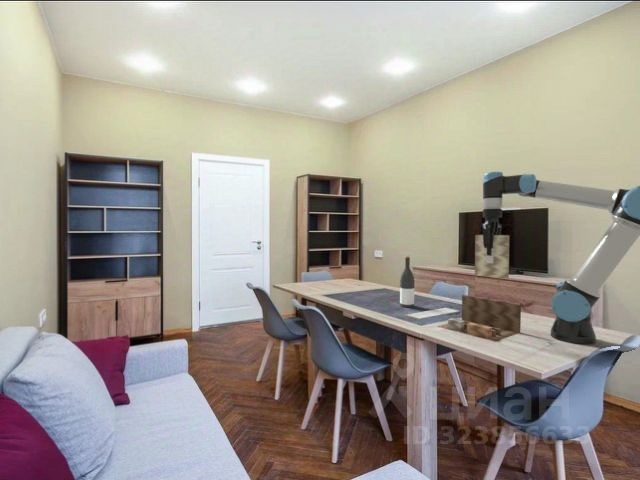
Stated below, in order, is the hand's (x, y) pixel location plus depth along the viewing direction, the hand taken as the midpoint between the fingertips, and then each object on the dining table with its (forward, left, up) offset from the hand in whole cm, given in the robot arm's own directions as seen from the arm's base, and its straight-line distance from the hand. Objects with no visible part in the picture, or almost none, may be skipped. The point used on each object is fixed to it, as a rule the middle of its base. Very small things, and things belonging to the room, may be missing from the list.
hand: (491, 262), depth 150 cm
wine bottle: (+56, -12, -31) cm, 65 cm away
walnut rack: (+3, +5, -30) cm, 31 cm away
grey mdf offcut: (+9, +13, -29) cm, 33 cm away
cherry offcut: (-2, +13, -29) cm, 32 cm away
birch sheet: (0, 0, -6) cm, 6 cm away
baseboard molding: (+36, -8, -31) cm, 48 cm away
